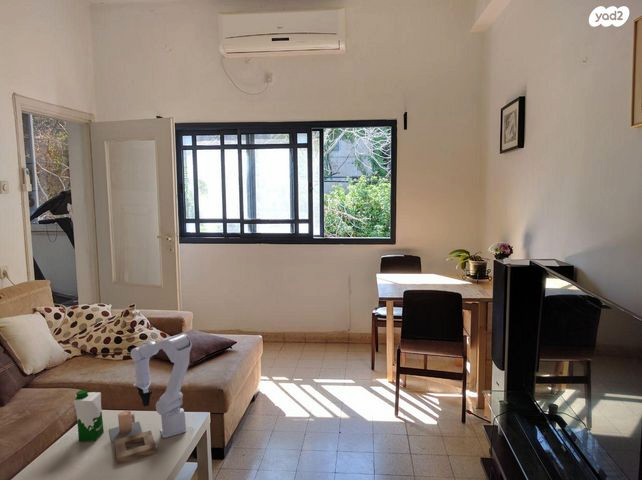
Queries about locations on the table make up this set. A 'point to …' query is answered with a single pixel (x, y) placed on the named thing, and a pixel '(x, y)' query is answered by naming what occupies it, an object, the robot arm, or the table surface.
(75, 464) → the table surface
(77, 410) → the milk carton
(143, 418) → the table surface
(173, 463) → the table surface
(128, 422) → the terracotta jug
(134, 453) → the block
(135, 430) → the grey square plate
